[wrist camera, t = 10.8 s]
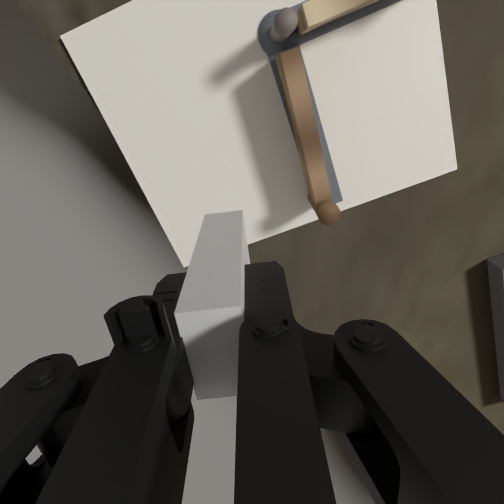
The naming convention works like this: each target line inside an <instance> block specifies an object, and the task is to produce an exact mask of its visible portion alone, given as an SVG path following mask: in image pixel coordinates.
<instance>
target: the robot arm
mask: <svg viewBox="0 0 504 504" xmlns="http://www.w3.org/2000/svg"><path fill="white" fill-rule="evenodd" d="M104 319H105V321H106V324H107V326H108V329H109V332H110V334H111V337H112V340H113V342H114V347H113V349H112V351H111V353H110V356H107V357H105V358H102V359H99V360H97V361H93V362H90V363H87V364H84V365H81V366H78V365H77V364H76V361H75V359H74V358H73V357H72V356H71V355H68V354H63V353H62V354H52V355H49V356H46V357H42V358H40V359H38V360H36V361H34V362H32V363H30V364H28V365H27V366H26V367H25V368H23V369H22V370H20V371H19V372H18V373H17V374H16V375H14V377H12V378H11V379H10V380H9V381H8V382H7V383H6V384H5V385H4V386H3V387H2V388H1V389H0V504H181V503H182V497H183V490H184V483H185V477H186V470H187V463H188V457H189V450H190V443H191V437H192V430H193V423H194V411H193V407H192V404H191V396H192V391H193V386H194V390H195V394H196V397H197V400H200V399H210V398H220V397H229V396H237V420H236V454H235V488H234V491H235V492H234V504H336V500H335V495H334V491H333V486H332V481H331V477H330V472H329V468H328V463H327V458H326V454H325V449H324V444H323V440H322V435H321V430H320V428H325V429H329V430H334V431H337V432H338V435H339V437H340V439H341V441H342V443H343V445H344V447H345V448H346V450H347V452H348V454H349V456H350V458H351V459H352V461H353V463H354V465H355V466H356V468H357V470H358V472H359V474H360V476H361V478H362V479H363V481H364V483H365V485H366V487H367V489H368V490H369V492H370V494H371V496H372V498H373V500H374V501H375V503H376V504H504V435H503V434H502V433H501V432H500V431H499V430H498V429H497V428H496V427H495V426H494V425H493V424H492V423H491V422H490V421H489V420H488V419H487V418H486V417H484V416H483V415H482V414H481V413H480V412H479V411H478V410H477V409H476V408H475V407H474V406H473V405H472V404H471V403H470V402H469V401H468V400H467V399H466V398H465V397H464V396H463V395H462V394H461V393H460V392H459V391H458V390H457V389H455V388H454V387H453V386H452V385H451V384H450V383H449V382H448V381H447V380H446V379H445V378H444V377H443V376H442V375H441V374H440V373H439V372H438V371H437V370H436V369H435V368H434V367H433V366H432V365H431V364H430V363H429V362H428V361H426V360H425V359H424V358H423V357H422V356H421V355H420V354H419V353H418V352H417V351H416V350H415V349H414V348H413V347H412V346H411V345H410V344H409V343H408V342H407V341H406V340H405V339H404V338H403V337H402V336H401V335H400V334H398V333H397V332H396V331H395V330H394V329H392V328H391V327H389V326H388V325H386V324H383V323H381V322H378V321H375V320H365V319H360V320H352V321H349V322H347V323H345V324H342V325H341V326H340V327H339V328H338V329H337V330H336V331H335V335H329V334H321V333H316V332H312V331H310V330H307V329H305V328H304V327H302V326H300V325H299V324H298V323H297V322H296V320H295V318H294V316H293V312H292V307H291V302H290V297H289V292H288V288H287V283H286V279H285V273H284V269H283V267H282V266H280V265H279V264H278V263H277V262H276V261H272V262H263V263H254V264H250V260H249V253H248V245H247V238H246V231H245V224H244V217H243V210H238V211H230V212H221V213H213V214H205V216H204V219H203V222H202V226H201V229H200V232H199V235H198V238H197V242H196V245H195V248H194V251H193V254H192V258H191V261H190V264H189V268H188V271H187V272H186V273H178V274H169V275H166V276H165V277H164V278H163V279H162V280H161V281H160V282H159V283H157V285H156V288H155V290H154V292H153V295H152V296H137V297H132V298H129V299H127V300H124V301H122V302H119V303H118V304H116V305H115V306H113V307H112V308H110V309H109V310H108V311H107V312H106V313H105V314H104ZM36 445H37V446H38V448H39V450H40V451H41V453H42V455H41V456H40V457H39V458H38V459H37V460H36V461H35V462H34V463H33V464H31V465H29V464H28V462H27V461H26V459H25V458H26V457H27V456H28V455H29V453H30V452H31V451H32V449H33V448H34V447H35V446H36Z"/></svg>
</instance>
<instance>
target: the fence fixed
mask: <svg viewBox="0 0 504 504" xmlns="http://www.w3.org/2000/svg"><path fill="white" fill-rule="evenodd" d="M377 1H379V0H309V1H307V2H304V3H302V5H301V6H300V8H299V9H298V11H297V12H295V11H294V10H293V9H292V8H289V7H285V8H283V9H281V10H280V11H279V12H278V14H277V16H276V18H275V20H274V23H273V25H272V27H271V30H270V38H271V40H272V42H273V43H275V44H282V43H283V42H285V40H286V39H287V38H288V37H289V36H290V34H291V33H292V32H293V31H294V30H295V28H296V26H298V30H299V33H300V35H302V34H304V33H306V32H309V31H311V30H313V29H315V28H318V27H320V26H322V25H325V24H327V23H329V22H331V21H334V20H336V19H338V18H340V17H343V16H345V15H347V14H350V13H352V12H354V11H356V10H359V9H361V8H363V7H365V6H368V5H370V4H372V3H374V2H377Z"/></svg>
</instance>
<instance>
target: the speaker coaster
mask: <svg viewBox="0 0 504 504" xmlns="http://www.w3.org/2000/svg"><path fill="white" fill-rule="evenodd" d="M487 267H488V277H489V287H490V297H491V307H492V317H493V327H494V337H495V347H496V357H497V367H498V377H499V387H500V397H501V399H502V400H503V402H504V254H501V255H498V256H495V257H491V258H488V259H487Z"/></svg>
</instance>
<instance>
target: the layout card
mask: <svg viewBox="0 0 504 504" xmlns="http://www.w3.org/2000/svg"><path fill="white" fill-rule="evenodd" d="M307 1H309V0H132V1H130V2H128V3H126V4H124V5H122V6H120V7H118V8H116V9H114V10H112V11H110V12H108V13H106V14H104V15H102V16H100V17H98V18H96V19H94V20H92V21H90V22H88V23H86V24H83V25H81V26H79V27H77V28H75V29H73V30H71V31H69V32H67V33H65V34H63V35H61V36H60V37H61V39H62V41H63V43H64V45H65V47H66V48H67V50H68V52H69V54H70V56H71V58H72V60H73V62H74V63H75V65H76V67H77V69H78V71H79V73H80V75H81V76H82V78H83V80H84V82H85V84H86V86H87V88H88V90H89V91H90V93H91V95H92V97H93V99H94V101H95V103H96V104H97V106H98V108H99V110H100V112H101V114H102V116H103V118H104V119H105V121H106V123H107V125H108V127H109V129H110V131H111V133H112V134H113V136H114V138H115V140H116V142H117V144H118V146H119V147H120V149H121V151H122V153H123V155H124V157H125V159H126V160H127V162H128V164H129V166H130V168H131V170H132V172H133V174H134V175H135V177H136V179H137V181H138V183H139V185H140V187H141V189H142V190H143V192H144V194H145V196H146V198H147V200H148V202H149V203H150V205H151V207H152V209H153V211H154V213H155V215H156V217H157V218H158V220H159V222H160V224H161V226H162V228H163V230H164V231H165V233H166V235H167V237H168V239H169V241H170V242H171V245H172V246H173V248H174V250H175V252H176V254H177V256H178V258H179V259H180V261H181V263H182V265H183V267H187V266H189V264H190V261H191V258H192V254H193V251H194V248H195V245H196V242H197V238H198V235H199V232H200V229H201V226H202V222H203V219H204V216H205V214H213V213H221V212H230V211H238V210H243V217H244V224H245V231H246V238H247V245H248V244H251V243H254V242H256V241H259V240H262V239H265V238H268V237H270V236H273V235H276V234H279V233H281V232H284V231H287V230H290V229H293V228H295V227H298V226H301V225H304V224H306V223H309V222H312V221H315V220H318V217H317V215H316V213H315V211H314V210H313V208H312V206H311V204H310V202H309V201H308V189H307V184H306V180H305V176H304V172H303V168H302V164H301V160H300V156H299V152H298V148H297V144H296V140H295V136H294V132H293V127H292V123H291V119H290V115H289V111H288V107H287V103H286V99H285V95H284V91H283V87H282V83H281V79H280V74H279V70H278V66H277V62H276V57H277V56H278V55H279V54H280V53H282V52H284V51H287V50H290V49H293V48H296V47H299V46H300V50H301V55H302V60H303V64H304V69H305V74H306V78H307V83H308V87H309V92H310V97H311V101H312V106H313V111H314V115H315V120H316V124H317V129H318V134H319V138H320V143H321V148H322V152H323V157H324V162H325V166H326V171H327V175H328V180H329V185H330V189H331V194H332V199H333V201H334V202H335V203H336V205H337V206H338V207H339V209H340V211H343V210H345V209H348V208H351V207H354V206H357V205H359V204H362V203H365V202H368V201H370V200H373V199H376V198H379V197H382V196H384V195H387V194H390V193H393V192H396V191H398V190H401V189H404V188H407V187H409V186H412V185H415V184H418V183H421V182H423V181H426V180H429V179H432V178H434V177H437V176H440V175H443V174H446V173H448V172H451V171H454V170H457V162H456V154H455V146H454V138H453V130H452V122H451V114H450V106H449V98H448V90H447V82H446V74H445V67H444V59H443V51H442V43H441V35H440V27H439V19H438V11H437V3H436V0H379V1H377V2H374V3H372V4H370V5H368V6H365V7H363V8H361V9H359V10H356V11H354V12H352V13H350V14H347V15H345V16H343V17H340V18H338V19H336V20H334V21H331V22H329V23H327V24H325V25H322V26H320V27H318V28H315V29H313V30H311V31H309V32H306V33H304V34H302V35H300V33H299V30H298V26H296V28H295V30H294V31H293V32H292V33H291V34H290V36H289V37H288V38H287V39H286V40H285V42H283V43H282V44H275V43H273V42H272V40H271V38H270V30H271V27H272V25H273V23H274V20H275V18H276V16H277V14H278V12H279V11H280V10H281V9H283V8H285V7H289V8H292V9H293V10H294V11H295V12H297V11H298V9H299V8H300V6H301V5H302V3H304V2H307Z"/></svg>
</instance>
